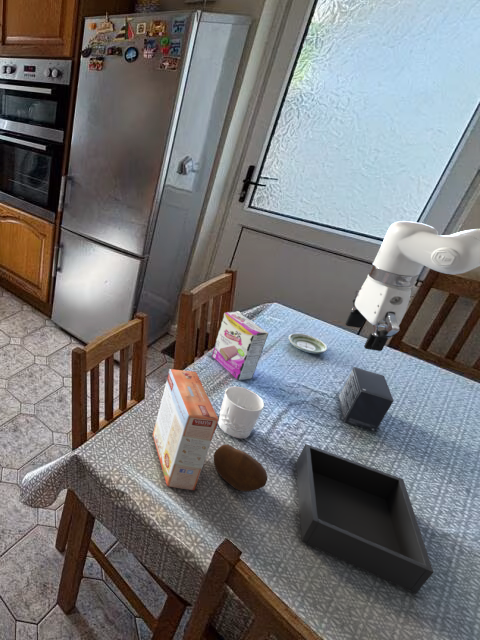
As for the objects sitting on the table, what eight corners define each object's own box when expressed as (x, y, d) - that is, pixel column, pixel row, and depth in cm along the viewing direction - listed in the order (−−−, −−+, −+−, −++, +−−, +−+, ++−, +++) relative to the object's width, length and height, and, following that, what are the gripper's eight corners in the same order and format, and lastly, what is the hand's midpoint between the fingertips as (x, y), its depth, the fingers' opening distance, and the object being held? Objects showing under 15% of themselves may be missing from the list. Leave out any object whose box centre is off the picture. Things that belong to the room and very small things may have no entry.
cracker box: (196, 492, 87) (221, 419, 78) (165, 487, 88) (186, 415, 79) (178, 438, 99) (197, 370, 90) (151, 434, 100) (168, 367, 91)
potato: (215, 456, 94) (224, 431, 91) (265, 485, 88) (276, 459, 84) (203, 476, 90) (212, 451, 86) (254, 508, 83) (266, 482, 80)
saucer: (319, 343, 131) (322, 336, 130) (329, 361, 123) (332, 355, 122) (283, 336, 135) (285, 329, 134) (290, 353, 127) (292, 347, 126)
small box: (377, 434, 99) (396, 401, 95) (342, 422, 102) (359, 390, 98) (369, 406, 107) (386, 374, 103) (337, 396, 110) (352, 365, 106)
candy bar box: (209, 357, 126) (223, 311, 119) (224, 355, 126) (238, 310, 119) (237, 382, 116) (253, 334, 109) (252, 380, 116) (270, 332, 109)
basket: (388, 501, 84) (403, 479, 81) (414, 595, 69) (433, 572, 67) (295, 465, 92) (305, 443, 89) (300, 542, 77) (312, 519, 74)
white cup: (258, 444, 97) (270, 412, 93) (221, 439, 98) (232, 408, 94) (243, 418, 104) (255, 388, 100) (210, 414, 105) (220, 384, 101)
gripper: (437, 296, 85) (401, 362, 92) (392, 262, 99) (364, 321, 107) (391, 291, 87) (360, 355, 94) (353, 257, 102) (329, 316, 109)
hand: (362, 337), depth 100 cm, fingers open, 9 cm apart
